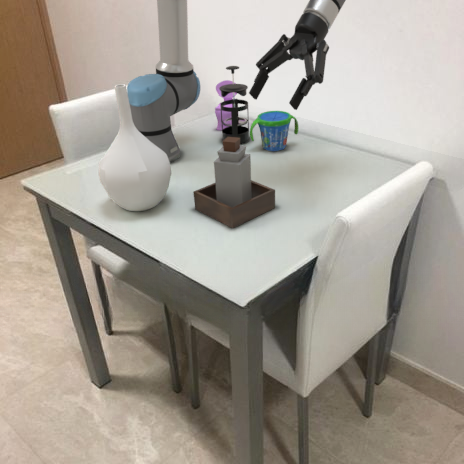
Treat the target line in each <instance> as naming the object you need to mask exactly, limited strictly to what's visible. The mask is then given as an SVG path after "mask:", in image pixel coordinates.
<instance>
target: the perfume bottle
mask: <svg viewBox="0 0 464 464" xmlns="http://www.w3.org/2000/svg"><path fill="white" fill-rule="evenodd" d="M221 142H222V147H221V148H219V150H217V152H216V154H217V156H218V158H216V159H215V160H214V161H213V167H214V183H216V197H217V201H219V202H221V203H223V204H225V205H227V206H230V207H235V206H237V205H239V204H241V203H243V202H245V201H248V200H250V199H252V195H251V180H252V168H251V166H252V165H251V154H250V153H246V151H247V145H243V144H241V145H240V138H237V137H227V138H226V139H224V140H223V141H222V140H221Z"/></svg>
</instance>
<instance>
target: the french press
mask: <svg viewBox="0 0 464 464" xmlns="http://www.w3.org/2000/svg"><path fill="white" fill-rule="evenodd" d="M225 69H226V70H228V71H230V73H231V74H232V75H231V76H232V77H231V78H232V81H233V84H228V85H224V86H221V87H220V88H219V89H220V91H221V96H222V97H225V96H226V95H228V94H229V93H232V92H233V98H232V100H227V101H224V100H223V101H221V102H220V103H221V104H220V103H219V104H220V106H221V122H223V123H222V130H221V137H222V138H221V142H222V141H223V140H224V139H226V138H227V137H237V138H240V145H244V144H247V143H249V142H250V141H251V137H250V119H249V117H250V116H249V114H247V118H246V117H243V116H239V112H243V111H245V110H246V111H247V112H249V102H248V100H246V99H245V100H244V99H239V98H235V97H236V95H235V96H234V92H235V93H237V94H238V95H240V96H241V97H245V96H247V90H248V89H249V86H248V85H247V84H243V83H236V84H234V83H235V77H234V76H235V75H234V74H235V70H239V69H240V66H238V65H229V66H226V67H225ZM222 97H221V98H222ZM228 104H232V108H231V107H224V106H225V105H228ZM239 105H241V106H239ZM222 110H223V111H227V112H231V117H230V118H226V119H224V120H223V121H222ZM223 125H225V126H229V127H226V128H224V129H223ZM246 125H247V126H246Z"/></svg>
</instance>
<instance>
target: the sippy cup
mask: <svg viewBox="0 0 464 464" xmlns="http://www.w3.org/2000/svg"><path fill="white" fill-rule="evenodd" d="M292 119H293V120H294V130H293V133H294V135H296V136H297V135H298V133H299V122H298V120H297V119H298V118H296V117H295V116H294V115H292V114H291V113H289V112H287V111H284V110H267V111H264V112H261V113H259V114H258V115H257V116H256V119H254V120H253V121H252V123H251V125H250V127H249V137H250V141H252V142H254V133H253V131H254V128H255V126H257V125H258V129H259V132H260V139H261V140H260V141H261V145H262V148H263V150H266V151H268V152H279V151H282V150H284V149H286V146H287V144H288V136H289V132H290V131H289V130H290V124H291V122H292Z"/></svg>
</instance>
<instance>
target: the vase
mask: <svg viewBox="0 0 464 464" xmlns="http://www.w3.org/2000/svg"><path fill="white" fill-rule="evenodd" d="M114 92H115V93H114V94H115V98H116V105H117V112H118V118H119V129H118V133H117V134H116V136H115V138H114V139H113V141H112V142H111V144H110V146H109V148H108V149H107V150H106V152H105V153H104V154H103V155H102V157H101V158H100V160H99V161H98V178H99V181H100V184H101V185H102V187H103V189H104V191H105V192H106V194H107V195H108V197H109V198H110V200H112V202H113V203H115V204H116V205H117V206H119V207H120V208H122V209H123V210H125V211H129V212H143V211H148V210H150V209H153V208H155V207H157V206H158V205H159V204H160V202H162V201H163V199H164V197H165V195H166V194H167V191H168V190H169V187H170V182H171V176H172V169H171V162H169V159H168V157H167V154H166V153H165V152H164V151H162V150H161V149H160V148H158V147H157V146H156V145H154V144H153V143H152V142H150V141H149V140H148V139H147V138H146V137H145V136H144V135H142V134H141V133H140V132H139V131H138V130H137V128H136V127H135V125H134V123H133V121H132V115H131V109H130V104H129V99H128V94H127V85H126V84H124V83H120V84H116V85H114Z"/></svg>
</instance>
